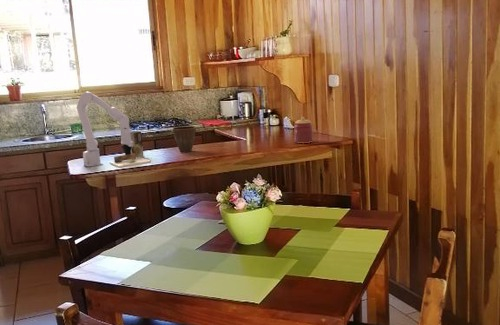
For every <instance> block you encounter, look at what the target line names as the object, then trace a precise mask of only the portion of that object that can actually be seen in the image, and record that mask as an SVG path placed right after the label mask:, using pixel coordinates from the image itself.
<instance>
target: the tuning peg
mask: <svg viewBox="0 0 500 325" xmlns="http://www.w3.org/2000/svg"><path fill="white" fill-rule="evenodd" d="M136 158H137V157H136V154H135V153H134V154H127V155H125V154H121V155H115V156H113V159H114V161H115V162H122V161H124V160H131V159H136Z"/></svg>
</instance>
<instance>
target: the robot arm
mask: <svg viewBox="0 0 500 325" xmlns="http://www.w3.org/2000/svg"><path fill="white" fill-rule="evenodd" d="M89 103H92V104H97V105H98V106H100V107H101V108H102V109H104V110H105V111H107V112H108V115H109V117H111V118H113V119H114V120H115V121H118V122H119V124H120V128H119V130H120V139H121V140H120V144H121V148H122V151H123V153H124V155H127V154H130V152H131V148H132V143H133V141H131V135H130V132H131V127H130V119H129V116H128V115H127V114H125V113H124V112H122V111H120V110H119V108H118V107H115V106H111V105H109V104H108V103H106V101H104V100H103V99H102V98H100V97H99V96H97V95H96V94H94V93H92V92H90V91H84V92H83V93H82V94H81V95H80V96H79V98H78V101H77V104H76V110H77V113H78V117H79V120H80V123H81V126H82V130H83V132H84V136H85V141H86V143H85V144H86V145H85V147H86V151H82V159H83V165H84V166H86V167H94V166H95V167H96V166H99V165H103V162H101V156H100V148H98V145H99V142H98V140H97V139H96V138H95V134H94V133H93V132H94V131H93V129H92V126H91V123H90V120H89V116H88V114H87V113H88V112H87V110H86V108H87V106H88V104H89Z"/></svg>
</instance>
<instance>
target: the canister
mask: <svg viewBox="0 0 500 325" xmlns="http://www.w3.org/2000/svg"><path fill="white" fill-rule="evenodd" d="M300 118H301V119H298V120H296V121H294V123H295V124H294V125H293V127H294V130H293V133H294V134H293V135H294V139H293V140H294V143H295V142H309V141H312V140H313V141H314V129H313V126H314V125H313V123H312V120H310V119H306V118H305V116H301V117H300Z"/></svg>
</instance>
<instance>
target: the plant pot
mask: <svg viewBox="0 0 500 325" xmlns="http://www.w3.org/2000/svg"><path fill="white" fill-rule="evenodd" d="M172 131H173V135H174V139H175V142H176V145H177V148H178V151H179V152H180V153H190V152H192V150H193V147H194V142H195V136H196V126H193V125H184V126H183V125H182V126H181V125H180V126H175V127H173V128H172Z"/></svg>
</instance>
